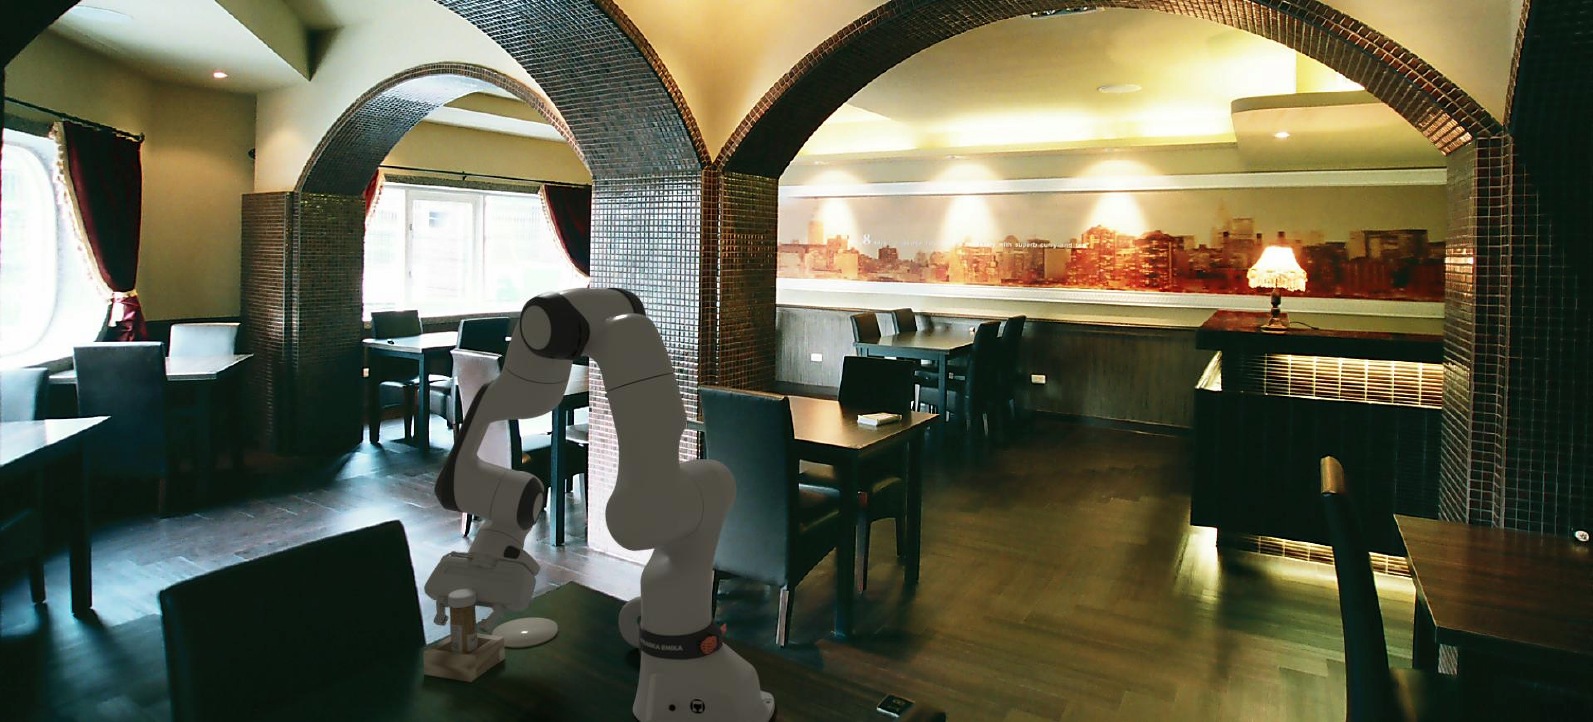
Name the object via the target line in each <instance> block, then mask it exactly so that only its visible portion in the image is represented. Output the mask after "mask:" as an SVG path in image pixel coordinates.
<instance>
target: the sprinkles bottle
mask: <svg viewBox="0 0 1593 722" xmlns="http://www.w3.org/2000/svg"><path fill="white" fill-rule="evenodd" d="M475 603H476V592H475V591H474V590H471V589H461V590H456V591H453V592H451V593H450V594H449V595H448V605H449V607H448V608H449V620H450V621H449V627H450V628H449V629H450V636H451V649H452V652H454V653H461V654H467V655H468V654H470V653H471V652H473V651H474V650H476V649H477V646H478V642H477V633H478V631H477V630H478V628H477V617H476V615H477V613H476V606H475Z"/></svg>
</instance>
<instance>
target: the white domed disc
mask: <svg viewBox="0 0 1593 722" xmlns="http://www.w3.org/2000/svg"><path fill="white" fill-rule="evenodd" d="M558 628H559V627H558V624H557V623H556V622H555V621H554V620H552V619H549V618H543V617H524V618H517V619H513V620H510V621H507V622H504V623H502V624H500V625H498V626H496V627H495V628H494V629H492V631H491V635H493V636H500V637H504V648H527V647H533V646H536V645H540V644H543V643H545V642H548V641H550V640H552V639H553V638H555V636H557V634H558V631H559V629H558Z"/></svg>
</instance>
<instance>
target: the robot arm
mask: <svg viewBox="0 0 1593 722" xmlns="http://www.w3.org/2000/svg"><path fill="white" fill-rule="evenodd" d="M511 335H512V336H511V338H510V341H509V344H508V347H507V351H506V355H505V358H504V363H503V367H502V370H501V371H500V373H499V375H498V376H497V377H496V378H495V379H492V380H487V381H485V382H484V383H483V385H481V386H480V388H479V389H478V390H477V392H476V393H475V395H474V397H473V398H472V400H471V403H470V405H469V407H468V409H467V412H466V413H465V415H464V418H463V419H462V420H463V421H462V423H461V425H460V427H459V430H458V433H457V435H456V437H455V440H454V442H453V445H452V447H451V449H450V451H449V454H448V456H447V458H446V460H445V463H444V465H443V466H442V468H441V469H440V471H439V473H438V475H437V477H436V479H435V483H434V490H433V492H434V494H435V497H436V499H437V501H438V502H439V504H440V505H441V506H442V508H443V509H444V510H447V511H453V512H457V513H463V514H468V515H473V516H475V517H478V518H482V519H485V520H484V523H483V524H482V525H481V526H480V527H479V529H478V530H477V532H476V533H475V536H474V539H473V541H472V543H471V545H470V547H469V549H468V552H466V551H457V550H451V552H448V553H447V554H445V555H443V556H442V557H441V559H440V561H439V562H438V563H437V565H436V566H435V567H434V569H433V571H432V572H431V573H430V576H429V577H428V578H427V581H426V582H425V584H424V586H423V589H424V593H425V595H426V596H427V597H429V598H430V599H431V600H432V601H436V602H435V609H436V614H435V616H434V619H433V623H434V624H435V625H436V626H441V627H442V626H443V627H444V626H446V624H447V621H448V620H449V619H450V616H449V615H447V614H446V608H449V605H448V595H449V594H450V593H451V592H453V591H456V590H461V589H471V590H474V591H475V592H476V603H475V607H482V608H491V610H492V612H491V613H490V614H489V615H488V616H487V617H486V618H482V619H481V621H480V624H479V626H478V629H479V630H480V631H481V632H484V633H492V631H493V628H494V625H495V624H496V623H497V622H499V621H500V620H501V619H502V618H503V617H505V614H506V611H512V612H519V613H521V612H523V611H524V610H525V609H527V608H528V607H529V604H530V602H531V599H532V597H533V594H534V592H535V589H536V584H537V579H536V576H538V575H539V573H540V570H541V565H540V564H539V563H538V562H537V561H536V559H534V558H533V557H532V556H531V554H529V553H528V552H527V551H526V550H525V549H524V547H525V541H526V538H527V535H528V534H529V533H530V532H531V531H532V529H533V527H534V526H535V525H536V524H537V523H538V520H539V517H540V515H541V513H542V511H543V507H544V504H545V499H546V495H545V486H544V484H543V482H542V481H541V479H540V478H538V477H537V476H536V475H534V474H532V473H530V472H527V471H520V470H515V469H512V468H507V467H505V466H501V465H498V464H494V463H491V462H487V461H485V460H483V459H481V458H480V457H479V456H478V452H479V449H480V447H481V445H482V443H483V440H484V438H485V436H486V433H487V432H488V428H489V426H490V424H492V423H495V422H499V421H500V422H501V421H508V420H530V419H535V418H538V417H541V416H544V415H546V414H548V413H550V412H552V411H553V410H555V409H556V408H557V407H558V406H560V404H561V402H562V400H563V398H564V397H565V393H566V390H567V387H568V384H569V381H570V377H571V373H572V368H573V363H574V361H578V360H579V359H580V357H588V358H589V359H592V360H593V361H594V362H595V363H596V364H597V366H598V368H599V371H600V374H601V379H602V382H603V386H604V390H605V392H606V394H605V395H606V397H607V401H608V405H609V408H610V413H611V416H612V420H613V424H614V425H613V426H614V429H615V432H616V437H617V445H618V462H617V463H618V464H617V465H618V466H617V475H616V480H615V481H616V482H615V486H614V488H613V491H612V493H611V494H610V497H609V498H608V500H607V503H606V506H605V510H604V517H605V525H606V527H607V530H608V533H609V534H610V536H611V538H612V540H613V541H614V542H616V544H617V545H619V546H620V547H622V548H623V549H626V550H628V551H632V552H638V551H639V552H641V551H649V550H653V551H652V553H651V556H650V558H649V559H648V561H647V563H646V564H645V566H644V568H643V570H642V572H641V576H640V582H639V584H640V596H641V615H640V616H641V617H640V619H641V620H640V621H639V623H638V626H639V648H638V651H639V655H640V668H639V677H638V684H637V690H636V694H635V695H636V696H635V698H634V703H633V706H632V713H633V715H634V716H635V718H636V719H637V721H639V722H769V721H770V720H771V718H772V717H773V714H774V713H775V712H774V711H775V708H776V707H775V706H776V705H775V698H774V695H772V693H770V692H767V691H763V690H761V686H760V685H761V684H760V680H759V679H760V678H759V675H758V673H757V670H756V668H755V667H754V666H753V665H752V664H751V663H750V662H748V661H747V660H746V659H744V658H743V657H742V656H741V655H739V654H738V653H737V652H735V651H734V650H733V649H732V648H731V647H729V646H728V645H727V644H726V643H724V642H723V640H724V639H723V638H724V637H723V636H724V634H725V633H726V631H727V628H726V627H727V623H724V624H723V625H721V626H720V627H719V626H718V624H717V623H716V622H715V620H714V617H713V616H712V583H713V582H712V580H713V579H712V578H713V570H714V569H713V567H714V562H715V557H716V553H717V548H718V545H719V540H720V538H721V533H722V531H723V530H722V529H723V527H724V523H725V521H726V518H727V516H728V515H729V513H730V511H731V509H732V507H733V505H734V504H735V502H736V498H737V483H736V480H735V477H734V475H733V474H732V471H731V470H730V469H729V468H728V466H726V465H725V464H723V462H721V461H718V460H715V459H707V458H706V459H701V458H700V459H689V460H686V461H683V462H680V445H681V444H680V443H681V438H682V435H683V433H684V432H685V429H686V427H687V424H688V416H687V411H686V408H685V405H684V401H683V398H682V395H681V391H680V388H679V385H678V384H679V383H678V380H677V377H676V374H675V371H674V367H673V363H672V361H671V358H670V354H669V352H668V350H667V347H666V345H665V342H664V340H663V338H662V336H661V334H660V332H659V330H658V328H657V326H656V324H655V323H654V321H653V320H652V319H651V318H650V317H648V316H647V312H646V309H645V306H644V304H643V302H642V300H641V299H640V298H639V297H638V295H636V293H634V292H632V291H630V290H627V289H625V288H621V287H607V288H595V287H594V288H593V287H592V288H590V287H589V288H587V287H575V288H570V289H569V288H568V289H564V290H559V291H546V292H543V293H541V294H538V295H537V294H536V296H533V297H531V298H530V299H529V300H527V301H526V302H525V303H524V305H523V307H522V309H521V312H520V316H519V319H518V321H517V323H516V325H515V327H514V330H513V332H512V334H511Z"/></svg>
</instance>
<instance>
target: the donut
mask: <svg viewBox="0 0 1593 722" xmlns="http://www.w3.org/2000/svg"><path fill="white" fill-rule="evenodd" d="M640 616H641V595H640V596H636V597H634V598H632V599H630V600H628V601H627V602H626V603H625V604H624V605H623V606H622V609H621V610H620V612H619V615H618V623H617V624H618V627H619V632H620V633H621V635H622V637H623V639H624V640H625V642H627V643H628V644H629V645H631V646H633V647H634V648H637V649H639V623H638V618H639V617H640Z"/></svg>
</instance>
